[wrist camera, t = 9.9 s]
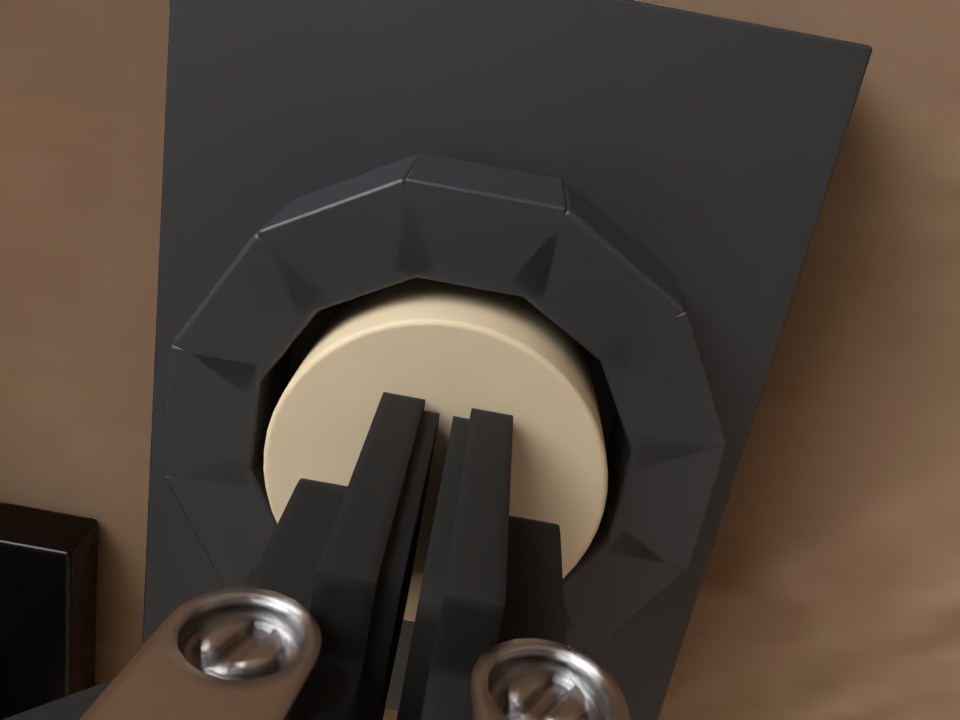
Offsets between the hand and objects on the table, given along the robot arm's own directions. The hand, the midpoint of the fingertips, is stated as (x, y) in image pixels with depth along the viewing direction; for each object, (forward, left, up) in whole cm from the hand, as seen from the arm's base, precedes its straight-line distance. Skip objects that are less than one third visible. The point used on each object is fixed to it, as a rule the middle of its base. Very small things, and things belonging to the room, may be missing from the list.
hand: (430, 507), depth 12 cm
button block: (0, 0, -5) cm, 5 cm away
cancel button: (0, 0, -2) cm, 2 cm away
